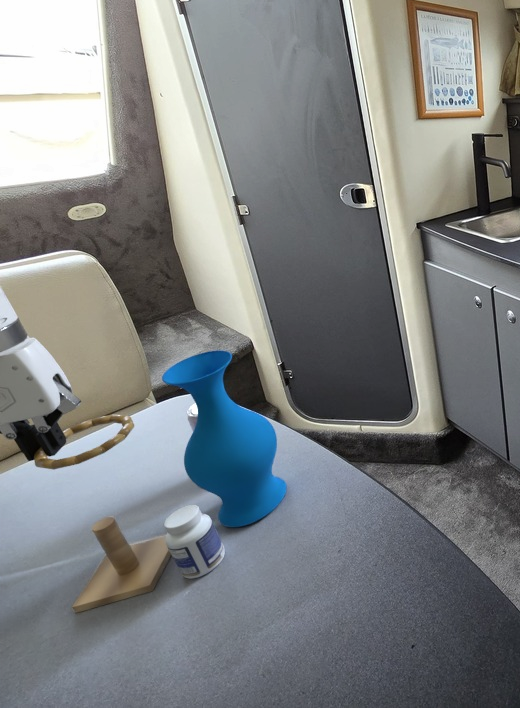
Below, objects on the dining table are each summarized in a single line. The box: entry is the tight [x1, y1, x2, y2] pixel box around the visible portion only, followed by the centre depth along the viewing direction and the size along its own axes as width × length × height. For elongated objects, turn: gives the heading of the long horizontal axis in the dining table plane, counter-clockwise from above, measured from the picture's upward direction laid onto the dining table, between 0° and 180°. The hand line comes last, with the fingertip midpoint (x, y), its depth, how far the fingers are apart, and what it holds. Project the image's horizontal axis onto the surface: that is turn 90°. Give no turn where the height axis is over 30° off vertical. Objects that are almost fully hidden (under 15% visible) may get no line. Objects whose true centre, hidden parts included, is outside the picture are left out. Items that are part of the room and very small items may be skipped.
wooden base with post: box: [71, 516, 172, 614], centre depth 72 cm, size 9×9×10 cm
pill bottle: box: [163, 504, 226, 580], centre depth 73 cm, size 5×5×10 cm
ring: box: [33, 413, 135, 470], centre depth 72 cm, size 10×10×1 cm
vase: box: [161, 350, 288, 528], centre depth 79 cm, size 12×13×28 cm
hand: (48, 451), depth 71 cm, fingers closed on ring, 1 cm apart
